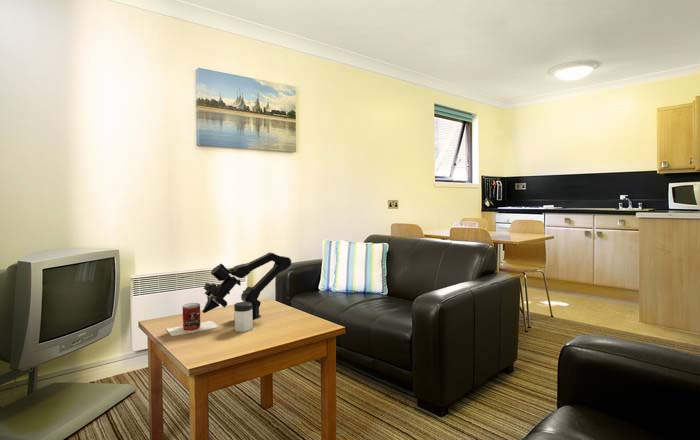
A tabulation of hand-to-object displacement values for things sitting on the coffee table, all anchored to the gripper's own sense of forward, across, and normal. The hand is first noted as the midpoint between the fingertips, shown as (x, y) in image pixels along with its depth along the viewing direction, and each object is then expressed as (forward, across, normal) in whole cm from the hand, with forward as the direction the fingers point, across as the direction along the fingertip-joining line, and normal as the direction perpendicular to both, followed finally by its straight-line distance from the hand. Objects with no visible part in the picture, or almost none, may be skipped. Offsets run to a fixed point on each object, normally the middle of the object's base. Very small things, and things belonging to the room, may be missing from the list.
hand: (203, 312), depth 184 cm
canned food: (+8, 0, +1) cm, 9 cm away
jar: (-5, +16, +15) cm, 22 cm away
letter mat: (+9, 0, +1) cm, 9 cm away
